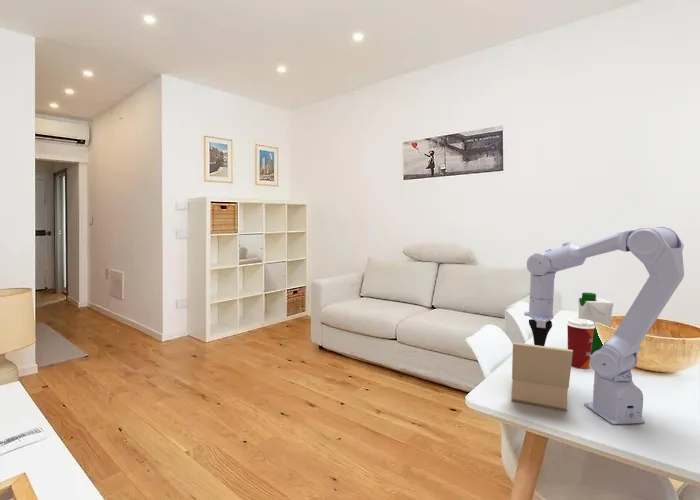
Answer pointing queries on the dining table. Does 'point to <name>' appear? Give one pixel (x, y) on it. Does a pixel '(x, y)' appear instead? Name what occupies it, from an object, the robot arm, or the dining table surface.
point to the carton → (539, 394)
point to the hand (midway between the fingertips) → (539, 347)
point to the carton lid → (541, 364)
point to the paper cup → (580, 341)
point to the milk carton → (595, 314)
